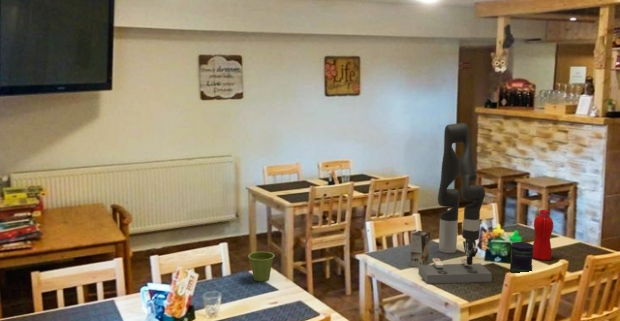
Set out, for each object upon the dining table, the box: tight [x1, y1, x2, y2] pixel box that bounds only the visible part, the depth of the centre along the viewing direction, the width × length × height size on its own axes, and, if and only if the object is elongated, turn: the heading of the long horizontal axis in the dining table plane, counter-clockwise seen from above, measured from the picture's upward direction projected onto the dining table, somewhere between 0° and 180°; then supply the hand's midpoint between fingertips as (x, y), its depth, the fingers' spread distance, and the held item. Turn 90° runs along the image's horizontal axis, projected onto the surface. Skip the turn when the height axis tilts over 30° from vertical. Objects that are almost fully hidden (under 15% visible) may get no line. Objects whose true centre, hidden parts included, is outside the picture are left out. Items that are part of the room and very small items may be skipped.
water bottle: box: [532, 209, 554, 261], centre depth 308 cm, size 9×11×25 cm
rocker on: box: [460, 258, 474, 266], centre depth 285 cm, size 7×3×1 cm, turn 6°
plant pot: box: [247, 251, 275, 282], centre depth 276 cm, size 12×12×11 cm
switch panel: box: [418, 262, 493, 285], centre depth 281 cm, size 14×30×4 cm, turn 96°
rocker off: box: [432, 258, 444, 268], centre depth 283 cm, size 7×3×1 cm, turn 6°
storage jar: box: [509, 241, 534, 273], centre depth 283 cm, size 10×10×15 cm
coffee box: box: [409, 230, 431, 268], centre depth 298 cm, size 9×6×16 cm
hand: (469, 264), depth 281 cm, fingers closed
